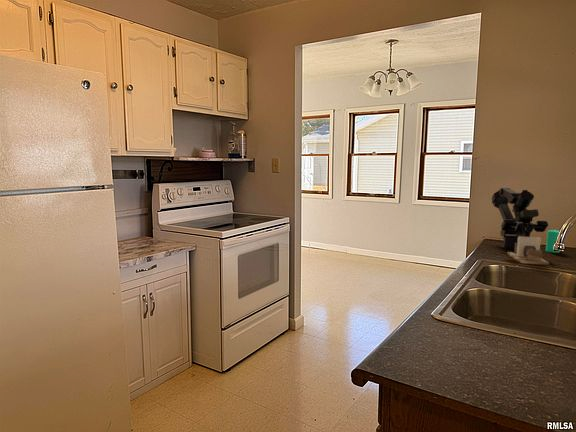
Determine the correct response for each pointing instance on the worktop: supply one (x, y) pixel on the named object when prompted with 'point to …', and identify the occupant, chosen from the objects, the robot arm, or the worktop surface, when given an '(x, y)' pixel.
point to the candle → (551, 240)
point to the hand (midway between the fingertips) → (527, 240)
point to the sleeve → (527, 244)
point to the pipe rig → (529, 256)
